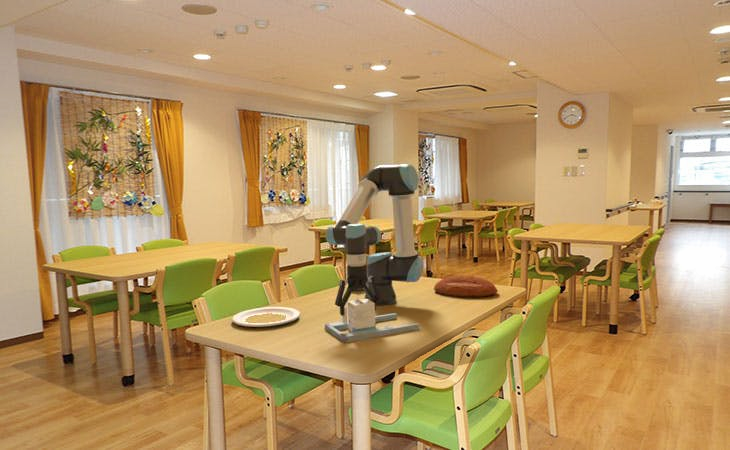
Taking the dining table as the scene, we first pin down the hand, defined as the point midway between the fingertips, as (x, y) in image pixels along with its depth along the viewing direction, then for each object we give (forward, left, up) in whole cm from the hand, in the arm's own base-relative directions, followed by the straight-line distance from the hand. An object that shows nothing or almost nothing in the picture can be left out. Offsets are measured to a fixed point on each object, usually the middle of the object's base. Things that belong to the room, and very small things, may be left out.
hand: (358, 321), depth 194 cm
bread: (-31, +74, -5) cm, 80 cm away
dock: (0, +6, -4) cm, 7 cm away
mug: (-68, +31, -4) cm, 75 cm away
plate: (-35, -27, -4) cm, 44 cm away
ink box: (+1, +1, -4) cm, 4 cm away
